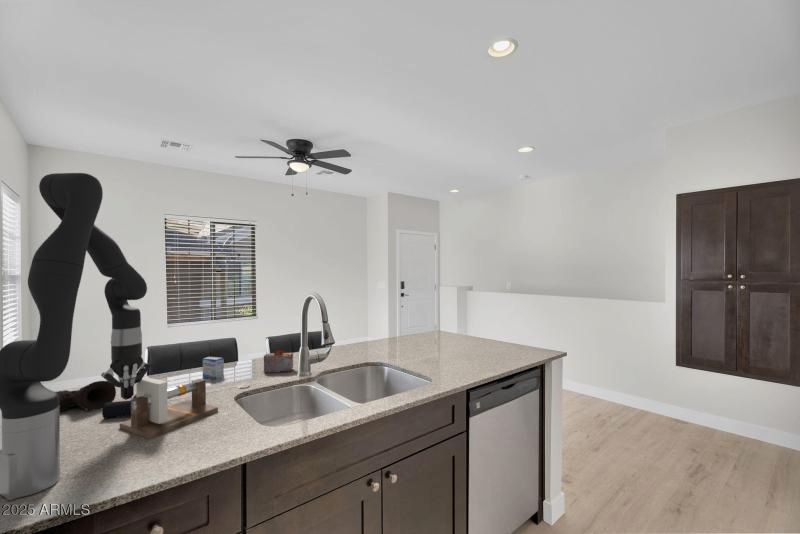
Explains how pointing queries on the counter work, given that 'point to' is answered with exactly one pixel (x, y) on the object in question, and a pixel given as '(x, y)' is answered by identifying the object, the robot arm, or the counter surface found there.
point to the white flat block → (154, 398)
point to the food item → (278, 361)
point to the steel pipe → (172, 392)
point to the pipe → (88, 396)
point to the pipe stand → (169, 414)
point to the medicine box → (213, 367)
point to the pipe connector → (117, 409)
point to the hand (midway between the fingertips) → (127, 398)
